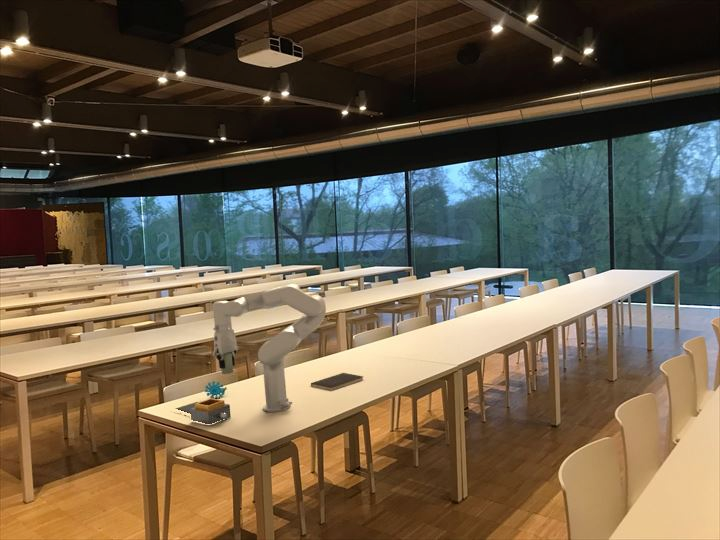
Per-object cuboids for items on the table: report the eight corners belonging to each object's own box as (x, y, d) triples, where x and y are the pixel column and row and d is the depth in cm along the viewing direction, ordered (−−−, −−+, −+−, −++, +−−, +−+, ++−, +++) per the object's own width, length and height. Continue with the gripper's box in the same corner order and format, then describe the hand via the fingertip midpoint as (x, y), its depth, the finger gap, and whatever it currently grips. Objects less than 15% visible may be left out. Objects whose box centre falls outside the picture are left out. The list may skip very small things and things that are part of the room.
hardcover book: (363, 380, 304) (363, 376, 304) (331, 391, 288) (331, 387, 288) (343, 376, 315) (342, 372, 315) (310, 387, 299) (310, 382, 299)
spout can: (235, 371, 266) (233, 348, 265) (227, 374, 262) (224, 350, 261) (228, 370, 269) (225, 347, 268) (219, 373, 265) (217, 349, 264)
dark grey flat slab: (220, 406, 269) (191, 416, 258) (220, 410, 269) (191, 420, 259) (198, 400, 283) (169, 408, 272) (198, 403, 283) (169, 412, 273)
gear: (206, 398, 284) (204, 380, 290) (204, 404, 288) (201, 387, 294) (228, 396, 289) (225, 379, 296) (226, 403, 293) (223, 386, 299)
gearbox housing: (236, 418, 254) (235, 401, 253) (215, 427, 244) (213, 409, 244) (213, 414, 263) (211, 396, 263) (191, 422, 254) (189, 404, 253)
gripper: (214, 331, 255) (218, 372, 256) (242, 324, 268) (246, 363, 270) (203, 331, 259) (207, 370, 260) (232, 324, 273) (235, 361, 274)
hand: (227, 366), depth 265 cm, fingers closed on spout can, 5 cm apart
